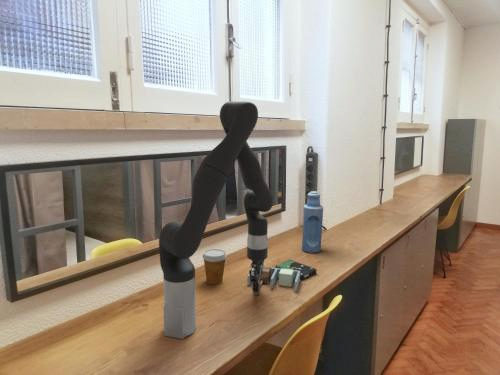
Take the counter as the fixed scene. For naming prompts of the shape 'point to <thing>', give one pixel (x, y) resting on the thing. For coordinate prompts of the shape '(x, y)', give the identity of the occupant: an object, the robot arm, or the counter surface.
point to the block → (286, 277)
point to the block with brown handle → (264, 277)
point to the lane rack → (276, 275)
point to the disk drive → (298, 268)
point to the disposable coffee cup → (214, 265)
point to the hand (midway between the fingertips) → (256, 289)
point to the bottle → (312, 224)
